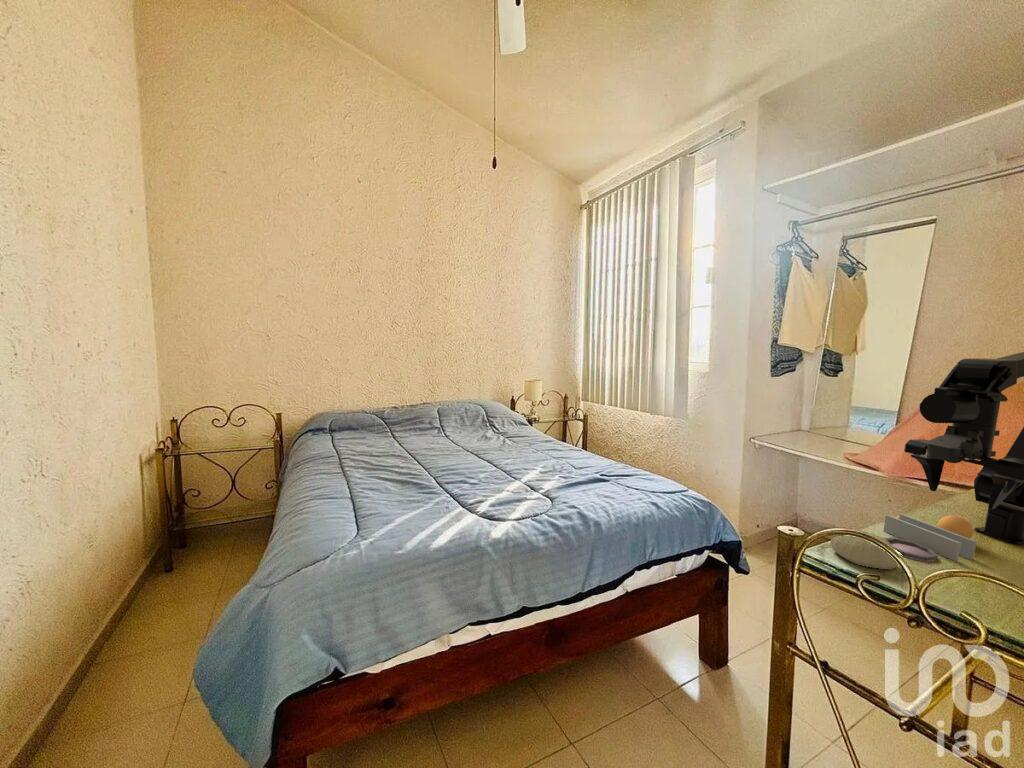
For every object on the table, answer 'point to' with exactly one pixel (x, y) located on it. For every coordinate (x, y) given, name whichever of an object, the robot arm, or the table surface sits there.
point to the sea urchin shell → (863, 551)
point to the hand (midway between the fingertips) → (960, 499)
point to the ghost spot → (912, 549)
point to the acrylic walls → (930, 537)
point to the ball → (956, 526)
